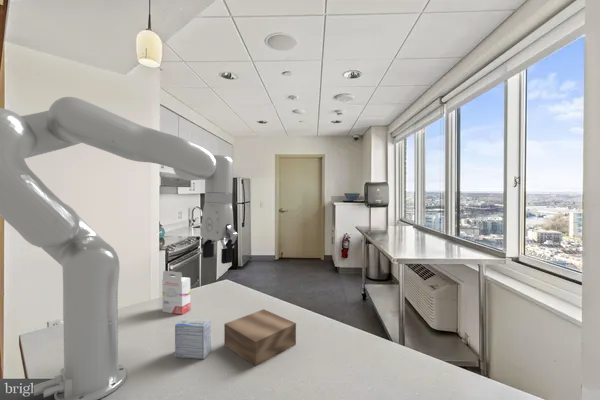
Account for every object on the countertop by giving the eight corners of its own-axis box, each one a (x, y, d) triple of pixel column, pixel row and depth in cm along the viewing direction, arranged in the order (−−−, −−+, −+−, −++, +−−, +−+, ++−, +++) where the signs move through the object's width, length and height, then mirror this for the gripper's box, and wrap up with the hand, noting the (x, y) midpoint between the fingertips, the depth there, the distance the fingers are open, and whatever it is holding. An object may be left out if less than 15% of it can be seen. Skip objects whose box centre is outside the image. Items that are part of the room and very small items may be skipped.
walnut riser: (255, 366, 70) (255, 341, 70) (224, 345, 79) (224, 323, 79) (295, 344, 80) (295, 323, 80) (263, 328, 89) (263, 309, 89)
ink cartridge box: (191, 309, 104) (191, 269, 104) (181, 315, 99) (181, 272, 99) (171, 306, 106) (171, 267, 106) (161, 312, 102) (161, 270, 101)
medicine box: (211, 350, 77) (211, 318, 77) (204, 360, 72) (204, 326, 72) (183, 348, 77) (183, 317, 77) (174, 358, 73) (174, 324, 73)
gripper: (191, 198, 84) (189, 257, 84) (224, 199, 72) (222, 267, 72) (214, 199, 90) (212, 253, 90) (248, 200, 78) (246, 263, 78)
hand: (217, 259), depth 81 cm, fingers open, 9 cm apart
